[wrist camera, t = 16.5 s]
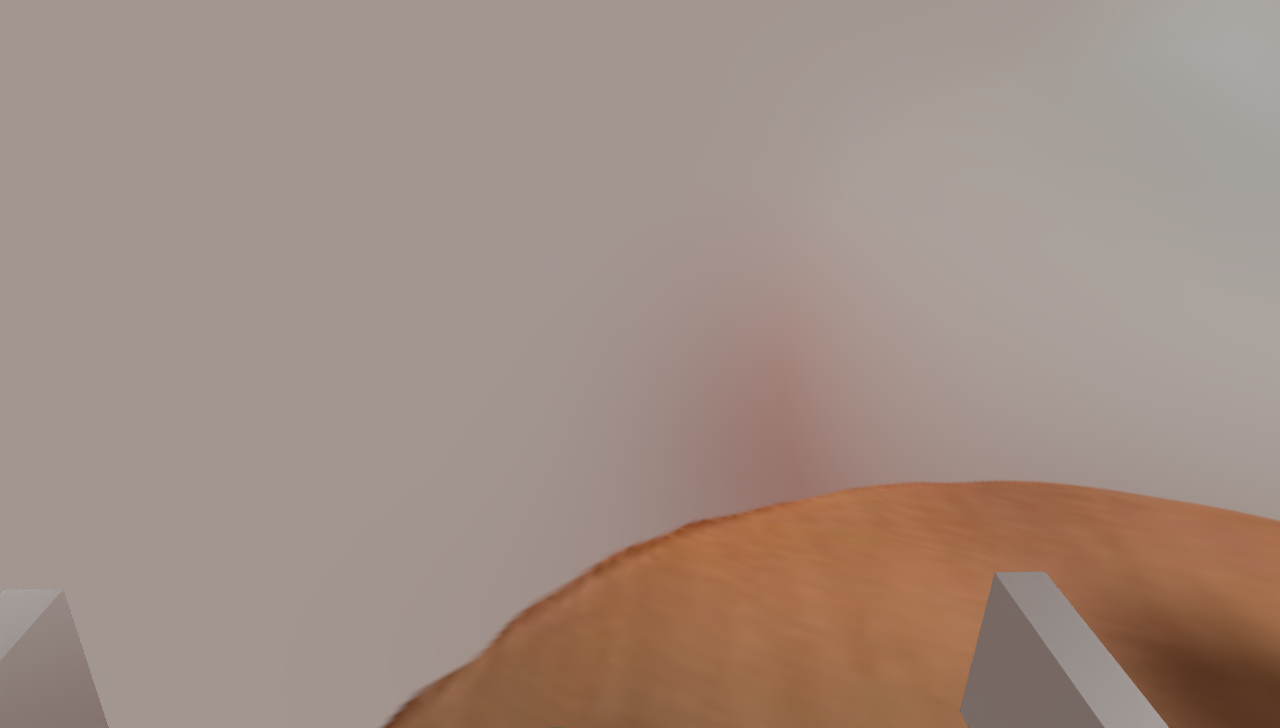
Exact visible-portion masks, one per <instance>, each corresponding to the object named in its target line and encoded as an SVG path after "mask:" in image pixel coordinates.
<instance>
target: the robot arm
mask: <svg viewBox="0 0 1280 728" xmlns="http://www.w3.org/2000/svg"><path fill="white" fill-rule="evenodd" d="M960 712H961V714H962V716H963V718H964V720H965V722H966V724H967V726H968V728H1169V727H1168V726H1167V724H1166V723H1165V722H1164V721H1163V719H1162V718H1161V717H1160V716H1159V714H1158V713H1157V712H1156V711H1155V709H1154V708H1153V707H1152V706H1151V704H1150V703H1149V702H1148V701H1147V699H1146V698H1145V697H1144V695H1143V694H1142V693H1141V692H1140V690H1139V689H1138V688H1137V687H1136V685H1135V684H1134V683H1133V682H1132V680H1131V679H1130V678H1129V677H1128V675H1127V674H1126V673H1125V672H1124V670H1123V669H1122V668H1121V667H1120V665H1119V664H1118V663H1117V662H1116V660H1115V659H1114V658H1113V657H1112V655H1111V654H1110V653H1109V651H1108V650H1107V649H1106V648H1105V646H1104V645H1103V644H1102V643H1101V641H1100V640H1099V639H1098V638H1097V636H1096V635H1095V634H1094V633H1093V631H1092V630H1091V629H1090V628H1089V626H1088V625H1087V624H1086V623H1085V621H1084V620H1083V619H1082V618H1081V616H1080V615H1079V614H1078V613H1077V611H1076V610H1075V609H1074V608H1073V606H1072V605H1071V604H1070V602H1069V601H1068V600H1067V599H1066V597H1065V596H1064V595H1063V594H1062V592H1061V591H1060V590H1059V589H1058V587H1057V586H1056V585H1055V584H1054V582H1053V581H1052V580H1051V579H1050V577H1049V576H1048V575H1047V574H1046V572H996V573H995V574H994V578H993V581H992V585H991V589H990V593H989V597H988V601H987V605H986V609H985V613H984V617H983V621H982V625H981V629H980V633H979V637H978V641H977V645H976V649H975V652H974V656H973V660H972V664H971V668H970V672H969V676H968V680H967V684H966V688H965V692H964V696H963V700H962V704H961V708H960ZM0 728H108V725H107V722H106V719H105V716H104V713H103V710H102V706H101V703H100V700H99V697H98V695H97V691H96V688H95V685H94V682H93V679H92V676H91V673H90V670H89V667H88V664H87V660H86V657H85V654H84V651H83V648H82V645H81V642H80V639H79V636H78V633H77V630H76V627H75V624H74V621H73V618H72V615H71V611H70V608H69V605H68V602H67V599H66V596H65V593H64V590H63V589H33V590H32V589H30V590H4V591H3V592H2V593H1V594H0Z"/></svg>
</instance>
